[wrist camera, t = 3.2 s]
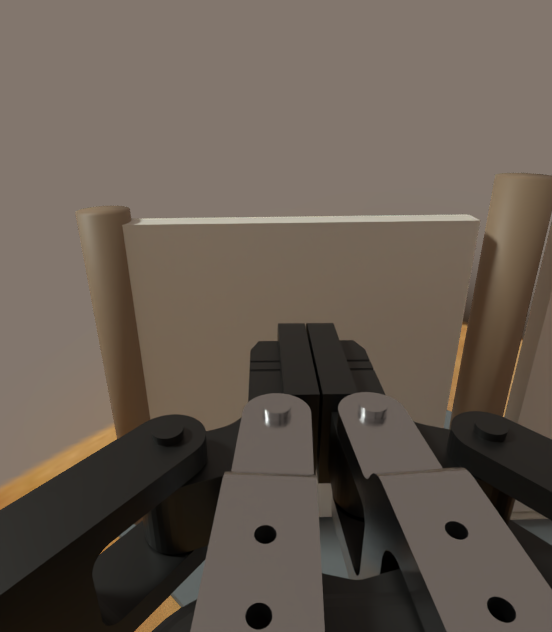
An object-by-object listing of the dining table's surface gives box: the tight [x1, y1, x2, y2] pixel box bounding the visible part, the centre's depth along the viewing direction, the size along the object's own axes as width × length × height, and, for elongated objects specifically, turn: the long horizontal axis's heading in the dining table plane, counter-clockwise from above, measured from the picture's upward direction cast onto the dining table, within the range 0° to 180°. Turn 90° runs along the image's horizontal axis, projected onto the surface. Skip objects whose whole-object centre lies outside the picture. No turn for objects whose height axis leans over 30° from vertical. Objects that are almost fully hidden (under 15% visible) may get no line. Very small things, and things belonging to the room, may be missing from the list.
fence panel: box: [75, 206, 480, 525], centre depth 19 cm, size 14×2×14 cm, turn 92°
